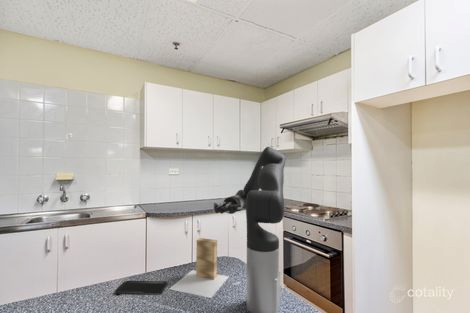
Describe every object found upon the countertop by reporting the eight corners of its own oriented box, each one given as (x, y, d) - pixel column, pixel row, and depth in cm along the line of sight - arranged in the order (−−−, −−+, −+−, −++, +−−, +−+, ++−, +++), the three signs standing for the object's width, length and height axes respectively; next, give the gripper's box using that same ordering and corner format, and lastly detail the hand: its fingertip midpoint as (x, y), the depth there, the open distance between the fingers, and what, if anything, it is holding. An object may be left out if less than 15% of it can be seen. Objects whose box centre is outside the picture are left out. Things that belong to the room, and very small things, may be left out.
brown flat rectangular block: (216, 276, 87) (217, 240, 88) (214, 279, 85) (214, 242, 86) (199, 273, 90) (199, 238, 90) (196, 276, 88) (196, 239, 88)
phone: (125, 280, 83) (168, 281, 83) (125, 284, 83) (168, 284, 83) (113, 292, 76) (160, 293, 75) (112, 296, 76) (160, 297, 75)
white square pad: (229, 277, 88) (229, 276, 88) (211, 299, 74) (211, 298, 74) (192, 271, 93) (192, 269, 93) (168, 290, 79) (168, 289, 79)
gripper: (220, 195, 117) (203, 200, 100) (247, 196, 112) (234, 202, 96) (220, 211, 116) (203, 218, 100) (247, 213, 112) (234, 221, 95)
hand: (218, 210), depth 98 cm, fingers closed
